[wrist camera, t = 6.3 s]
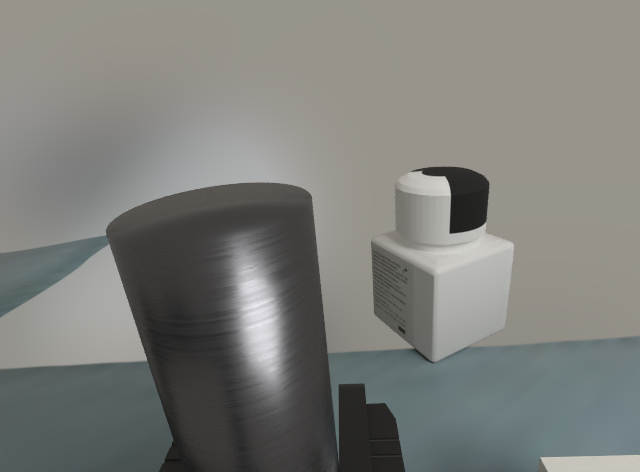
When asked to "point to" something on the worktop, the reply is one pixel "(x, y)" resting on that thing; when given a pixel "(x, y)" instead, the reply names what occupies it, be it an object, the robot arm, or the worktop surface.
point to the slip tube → (233, 325)
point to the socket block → (590, 464)
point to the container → (441, 263)
